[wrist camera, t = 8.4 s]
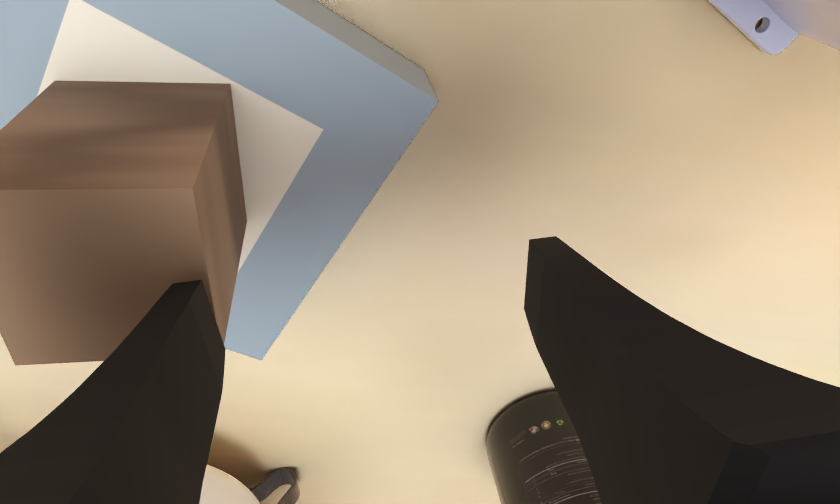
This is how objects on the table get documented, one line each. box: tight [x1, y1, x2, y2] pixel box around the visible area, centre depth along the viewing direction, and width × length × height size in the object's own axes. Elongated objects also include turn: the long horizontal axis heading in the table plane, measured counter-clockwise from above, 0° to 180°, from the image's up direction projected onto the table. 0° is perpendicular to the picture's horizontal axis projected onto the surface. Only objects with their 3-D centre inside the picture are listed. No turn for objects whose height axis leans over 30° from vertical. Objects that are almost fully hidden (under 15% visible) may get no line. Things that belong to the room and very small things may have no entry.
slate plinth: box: [0, 0, 439, 360], centre depth 18 cm, size 12×12×3 cm
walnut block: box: [0, 81, 247, 365], centre depth 15 cm, size 4×4×6 cm
